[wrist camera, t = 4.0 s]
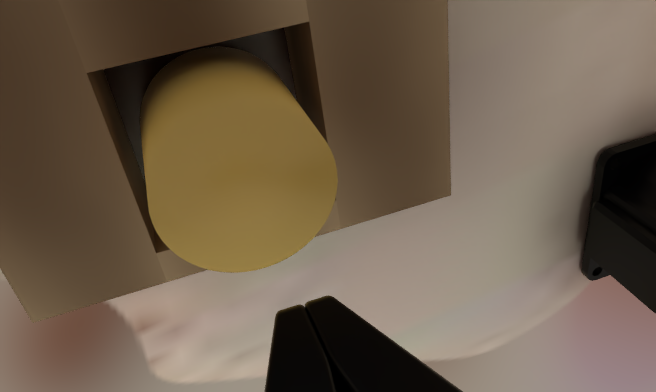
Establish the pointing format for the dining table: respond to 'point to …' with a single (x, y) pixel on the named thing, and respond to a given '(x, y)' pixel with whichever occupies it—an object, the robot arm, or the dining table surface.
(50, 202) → the brown button tray
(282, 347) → the robot arm
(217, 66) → the button amber
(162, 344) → the dining table surface
